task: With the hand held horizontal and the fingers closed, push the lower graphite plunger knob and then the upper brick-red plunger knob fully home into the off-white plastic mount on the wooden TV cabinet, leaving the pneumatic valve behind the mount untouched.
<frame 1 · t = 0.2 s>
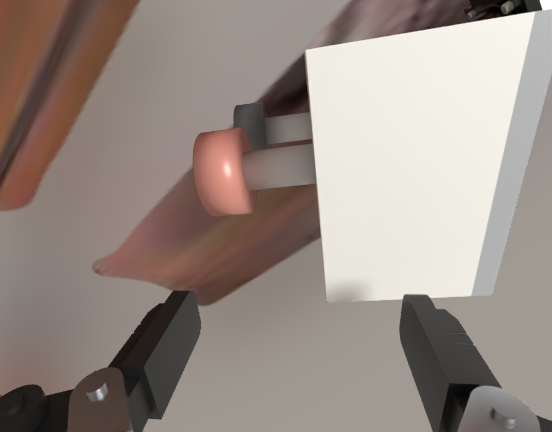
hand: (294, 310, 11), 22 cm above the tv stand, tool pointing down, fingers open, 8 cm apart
mount: (340, 106, 28), on the tv stand
knob a: (291, 128, 23), point 7 cm above the tv stand, slide at 3.0 cm
knob b: (285, 167, 15), point 16 cm above the tv stand, slide at 3.0 cm
pneumatic valve: (499, 0, 24), on the tv stand
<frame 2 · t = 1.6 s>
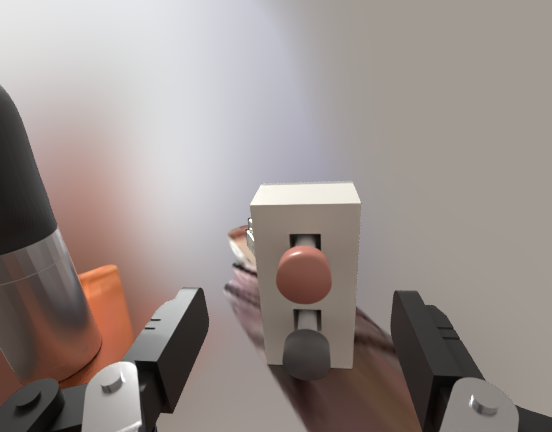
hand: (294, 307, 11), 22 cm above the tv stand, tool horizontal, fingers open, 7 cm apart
mount: (309, 346, 37), on the tv stand
knob a: (307, 330, 30), point 7 cm above the tv stand, slide at 3.0 cm
knob b: (304, 255, 27), point 16 cm above the tv stand, slide at 3.0 cm
pneumatic valve: (272, 284, 50), on the tv stand
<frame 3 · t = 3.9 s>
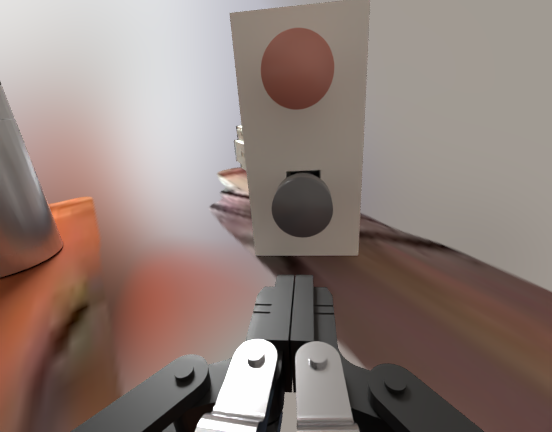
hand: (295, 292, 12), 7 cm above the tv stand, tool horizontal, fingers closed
mount: (306, 241, 31), on the tv stand
knob a: (303, 192, 25), point 7 cm above the tv stand, slide at 3.0 cm
knob b: (299, 74, 21), point 16 cm above the tv stand, slide at 3.0 cm
pneumatic valve: (264, 202, 44), on the tv stand
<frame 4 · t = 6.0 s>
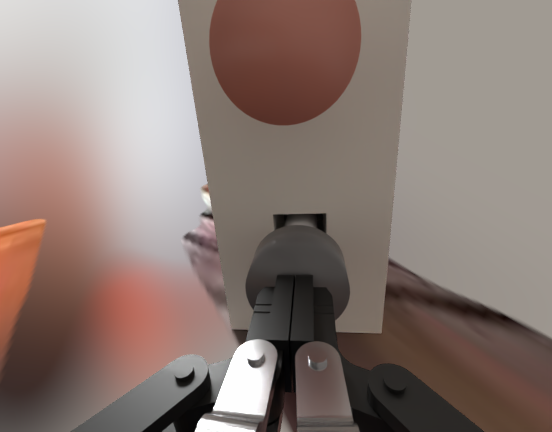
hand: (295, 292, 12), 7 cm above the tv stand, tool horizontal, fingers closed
mount: (304, 301, 22), on the tv stand
knob a: (299, 246, 16), point 7 cm above the tv stand, slide at 2.5 cm, touching gripper
knob b: (291, 60, 12), point 16 cm above the tv stand, slide at 3.0 cm
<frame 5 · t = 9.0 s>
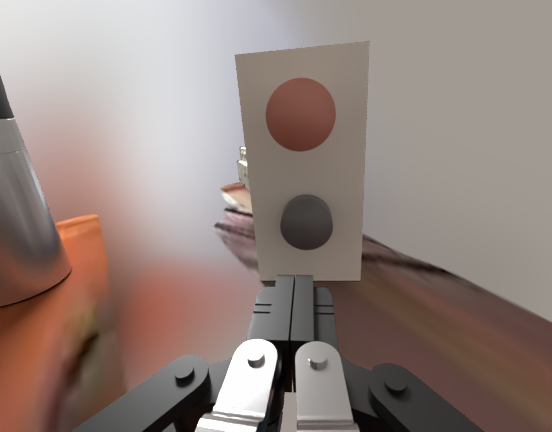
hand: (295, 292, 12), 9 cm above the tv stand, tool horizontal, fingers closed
mount: (309, 264, 32), on the tv stand
knob a: (306, 210, 28), point 7 cm above the tv stand, slide at 0.0 cm
knob b: (302, 112, 22), point 16 cm above the tv stand, slide at 3.0 cm
pneumatic valve: (268, 221, 45), on the tv stand
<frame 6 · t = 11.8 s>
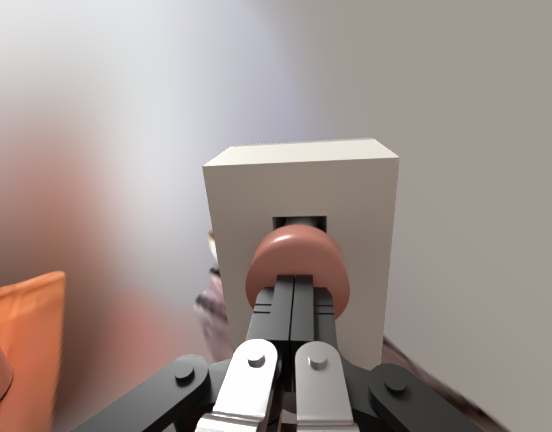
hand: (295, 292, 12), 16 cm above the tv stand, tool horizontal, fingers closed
mount: (307, 388, 25), on the tv stand
knob a: (305, 340, 21), point 7 cm above the tv stand, slide at 0.0 cm
knob b: (299, 246, 16), point 16 cm above the tv stand, slide at 2.1 cm, touching gripper
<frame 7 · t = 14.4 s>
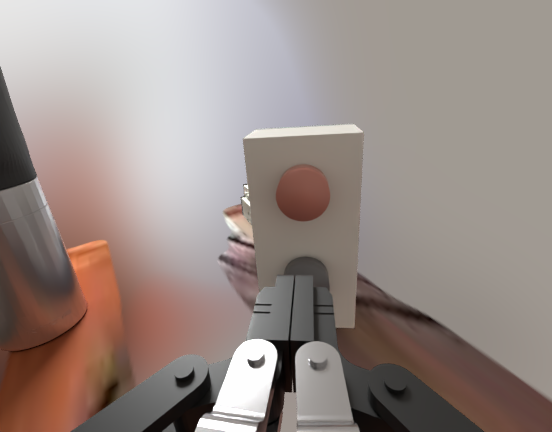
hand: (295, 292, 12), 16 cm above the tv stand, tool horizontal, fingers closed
mount: (308, 308, 35), on the tv stand
knob a: (306, 264, 31), point 7 cm above the tv stand, slide at 0.0 cm
knob b: (303, 182, 27), point 16 cm above the tv stand, slide at 0.0 cm
pneumatic valve: (269, 254, 48), on the tv stand
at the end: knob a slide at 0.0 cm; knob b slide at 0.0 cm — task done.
